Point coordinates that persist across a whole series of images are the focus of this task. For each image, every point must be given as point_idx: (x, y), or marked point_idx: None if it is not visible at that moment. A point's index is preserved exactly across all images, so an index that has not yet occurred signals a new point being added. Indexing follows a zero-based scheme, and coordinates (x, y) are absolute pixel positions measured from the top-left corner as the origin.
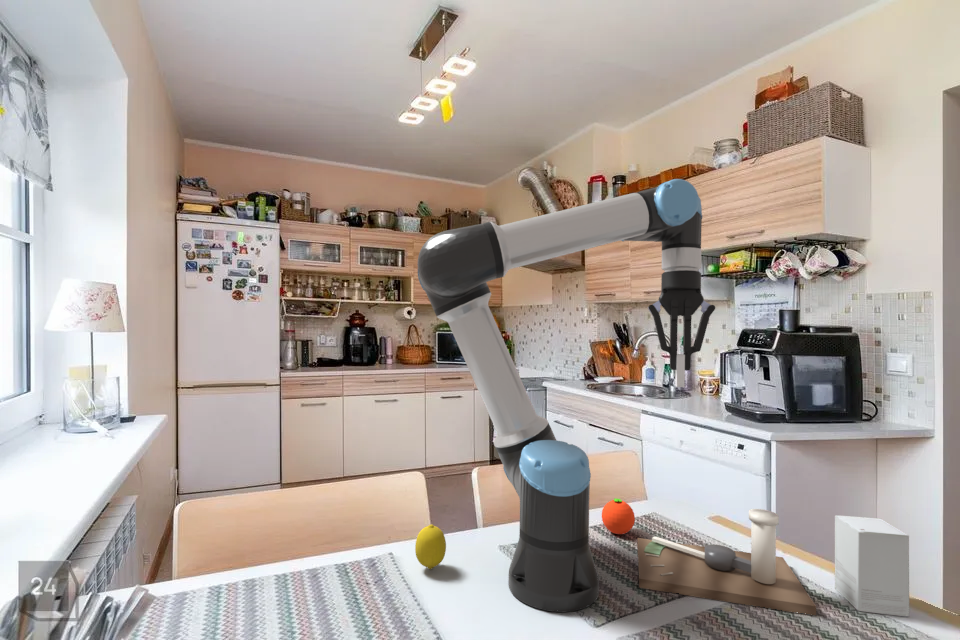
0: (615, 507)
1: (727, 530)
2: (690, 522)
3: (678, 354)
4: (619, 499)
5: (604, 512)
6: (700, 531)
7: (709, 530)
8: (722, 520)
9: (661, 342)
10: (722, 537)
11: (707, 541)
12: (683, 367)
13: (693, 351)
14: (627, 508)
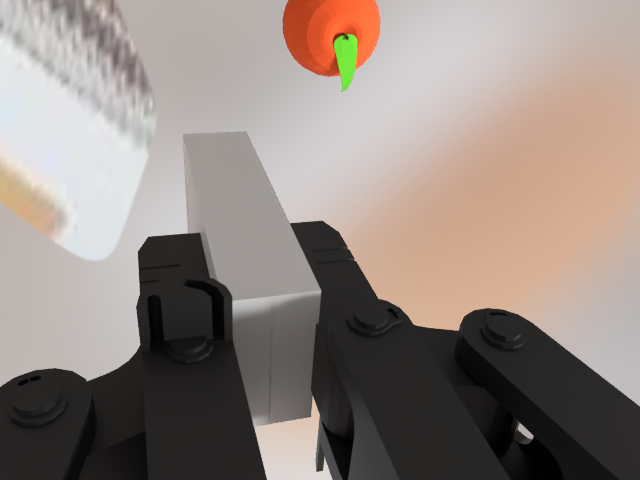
0: (353, 1)
1: (8, 145)
2: (115, 166)
3: (288, 379)
4: (340, 57)
5: (376, 5)
6: (87, 109)
7: (61, 126)
8: (23, 215)
9: (586, 380)
10: (22, 85)
11: (67, 39)
12: (215, 217)
13: (104, 389)
14: (316, 12)
